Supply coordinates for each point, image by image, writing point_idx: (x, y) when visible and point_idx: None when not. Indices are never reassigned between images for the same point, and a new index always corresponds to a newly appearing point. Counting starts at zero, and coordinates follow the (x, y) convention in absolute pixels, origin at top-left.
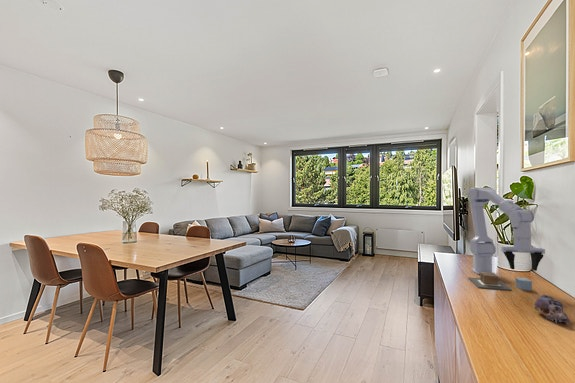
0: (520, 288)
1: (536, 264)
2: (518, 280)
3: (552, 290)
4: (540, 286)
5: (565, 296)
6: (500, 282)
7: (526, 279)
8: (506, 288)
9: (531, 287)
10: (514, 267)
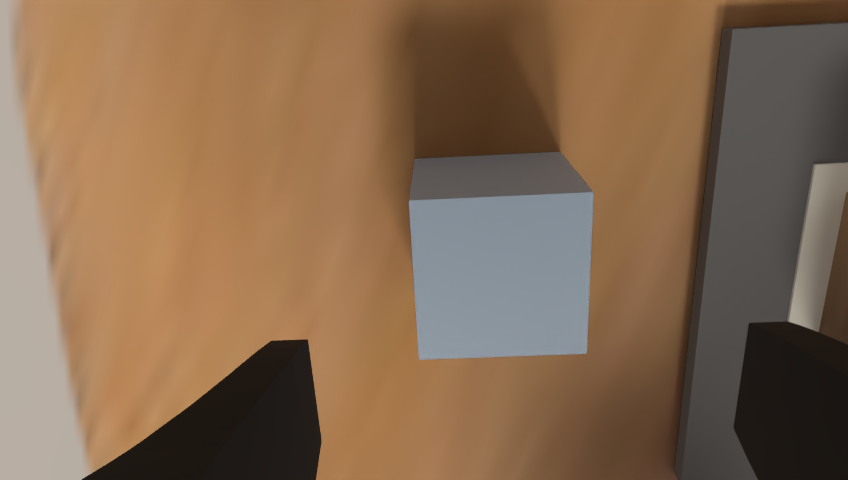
0: (560, 157)
1: (218, 421)
2: (587, 242)
3: (153, 251)
4: None
5: (67, 10)
6: (722, 356)
7: (454, 286)
8: (794, 59)
9: (419, 169)
10: (781, 336)
